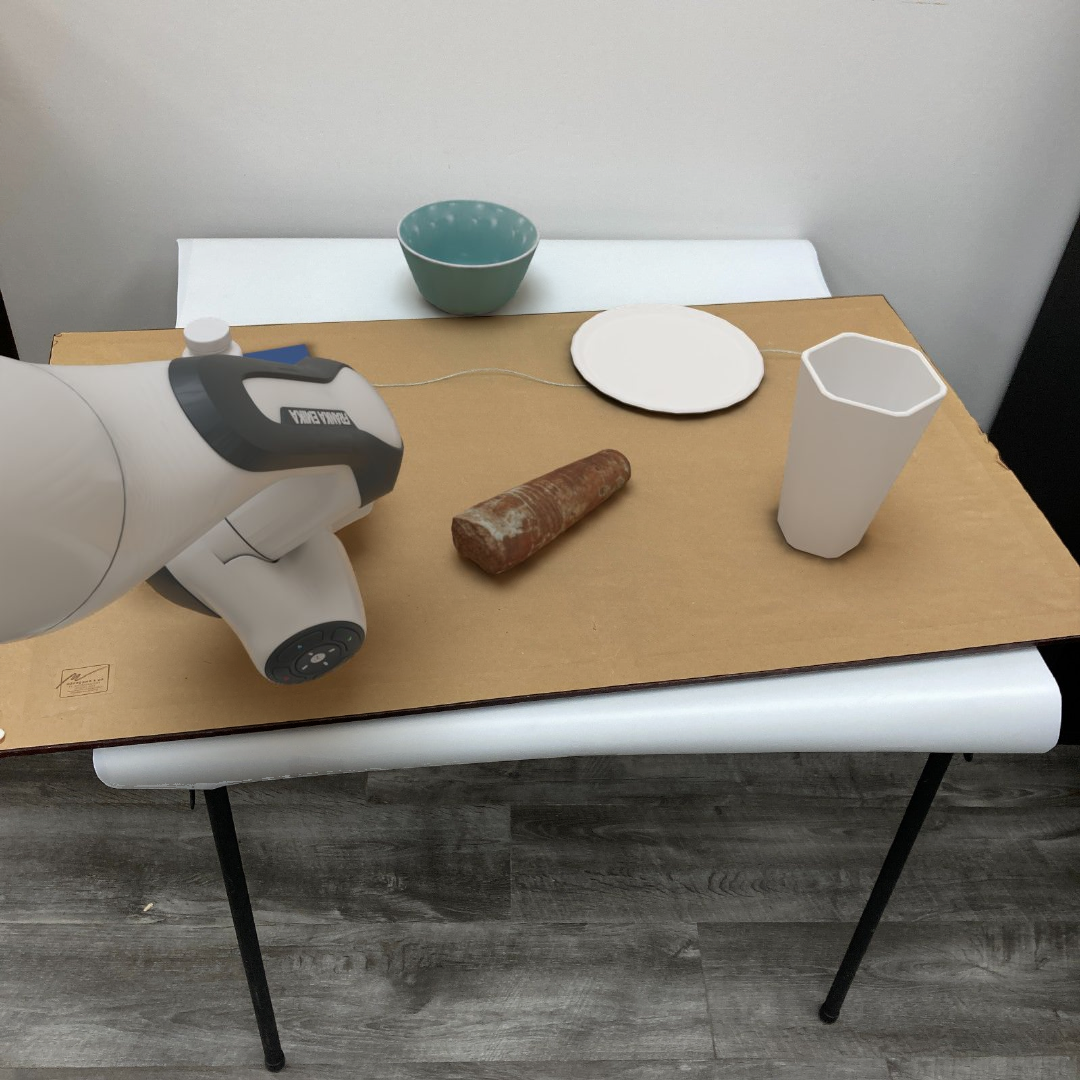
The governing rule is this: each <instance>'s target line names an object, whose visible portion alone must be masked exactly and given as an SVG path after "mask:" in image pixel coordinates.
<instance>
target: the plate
mask: <svg viewBox="0 0 1080 1080" xmlns="http://www.w3.org/2000/svg"><path fill="white" fill-rule="evenodd" d="M570 345H571V346H570V354H571V358H572V362H573V365H574V367H575V369H576V370H577V371H578V373H579V374H580V375H581V377H582V378H583V379H584V381H585V382H587V383H588V384H589V385H590V386H591V387H593V388H594V389H596V390H597V391H598V392H600V393H601V394H603V395H604V396H607V397H609V398H611V399H613V400H615V401H617V402H618V403H621V404H623V405H626V406H629V407H633V408H637V409H641V410H644V411H647V412H652V413H660V414H668V415H675V416H676V415H678V416H679V415H703V414H707V413H711V412H716V411H722V410H726V409H728V408H730V407H732V406H735V405H737V404H739V403H741V402H743V401H746V399H747V398H749V397H750V396H751V395H752V394H753V393H754V392H755V391H756V390H757V389H758V388H759V386H760V385H761V381H762V379H763V377H764V374H765V366H764V364H765V363H764V357H763V356H762V353H761V352H760V350H759V348H758V346H757V345H756V342H754V341H753V340H752V339H751V338H750V337H749V336H748V335H747V334H746V333H745V332H744V331H743V330H742V329H740V328H738V327H737V326H736V325H734V324H733V323H730V321H728V320H726V319H724V318H722V317H719V316H716V315H714V314H712V313H710V312H707V311H704V310H701V309H696V308H692V307H688V306H685V305H678V304H671V303H664V302H663V303H661V302H650V303H649V302H647V303H646V302H645V303H642V302H641V303H632V304H625V305H621V306H615V307H611V308H609V309H607V310H604V311H601V312H599V313H596V314H595V315H594V316H592V317H591V318H589V319H587V320H586V321H584V322H583V323H582V324H581V325H580V326H579V328H578V329H577V330H576V331H575V333H574V334H573V336H572V340H571V344H570Z"/></svg>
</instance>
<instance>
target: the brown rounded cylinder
mask: <svg viewBox="0 0 1080 1080" xmlns="http://www.w3.org/2000/svg"><path fill="white" fill-rule="evenodd" d="M631 478H632V466H631V463H630V461H629V459H628V458H627V456H626V455H624V453H622V452H621V451H619V450H617V449H613V448H606V449H602V450H599V451H597V452H595V453H593V454H591V455H588V456H586V457H582V458H580V459H578V460H575V461H572V462H571V463H569V464H566V465H564V466H561V467H558V468H556V469H554V470H552V471H550V472H547V473H545V474H543V475H540V476H538V477H535V478H533V479H531V480H529V481H526V482H523V483H522V484H520V485H518V486H515V487H513V488H510V489H508V490H506V491H504V492H502V493H500V494H497V495H495V496H493V497H490V498H488V499H486V500H483V501H481V502H478V503H477V504H475V505H473V506H471V507H469V508H468V509H466V510H465V511H463V512H461V513H458V514H456V515H454V516H453V517H452V521H451V526H450V529H451V530H450V531H451V536H452V537H451V538H452V543H453V546H454V548H455V549H456V551H457V553H458V554H459V555H460V556H463V557H465V558H468V559H470V560H471V561H473V562H474V563H476V564H477V565H478V566H479V567H480V569H482V570H484V571H485V572H486V573H489V574H492V575H498V574H501V573H504V572H507V571H509V570H511V569H512V568H514V567H515V566H517V565H519V564H520V563H522V562H523V561H525V560H526V559H527V558H528V557H531V556H532V555H533V554H535V553H536V552H538V551H539V550H541V549H542V548H544V547H545V546H547V545H548V544H549V543H551V542H552V541H553V540H554V539H556V538H557V537H558V536H560V535H561V534H562V533H564V532H566V530H568V528H570V527H572V526H573V525H574V524H575V523H577V522H578V521H579V520H580V519H582V518H583V517H585V515H587V514H588V513H589V512H591V511H592V510H594V509H595V508H597V507H598V506H599V505H601V504H602V503H603V502H605V501H606V500H607V499H608V498H609V497H611V496H612V495H613V494H614V493H615V492H617V491H618V490H619V489H620V488H622V487H623V486H624V485H625V484H627V483H628V482H629V481H630V480H631Z"/></svg>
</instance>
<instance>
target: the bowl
mask: <svg viewBox="0 0 1080 1080" xmlns="http://www.w3.org/2000/svg"><path fill="white" fill-rule="evenodd" d="M396 237H397V240H398V243H399V245H400V248H401V250H402V253H403V256H404V259H405V261H406V263H407V266H408V268H409V270H410V273H411V276H412V277H413V279H414V282H415V284H416V287H417V288H418V291H419V293H420V294H421V296H422V297H423V298H424V299H425V300H426V301H428V302H429V303H430V304H431V305H433V306H435V307H436V308H438V309H440V310H441V311H443V312H446V313H449V314H453V315H458V316H466V317H467V316H469V317H471V316H473V317H475V316H483V315H486V314H490V313H493V312H495V311H497V310H499V309H500V308H503V306H505V305H507V304H508V303H509V302H511V301H512V300H513V299H514V297H515V296H516V294H517V292H518V290H519V288H520V286H521V283H522V282H523V280H524V277H525V275H526V274H527V271H528V269H529V267H530V265H531V262H532V261H533V258H534V255H535V253H536V251H537V248H538V246H539V244H540V239H541V233H540V229H539V227H538V226H537V224H536V223H535V222H534V220H532V219H531V218H530V217H529V216H528V215H526V214H525V213H524V212H521V211H519V210H518V209H515V208H513V207H511V206H508V205H505V204H502V203H499V202H494V201H490V200H484V199H477V198H447V199H441V200H435V201H434V200H433V201H430V202H427V203H424V204H420V205H419V206H416V207H415V208H412V209H411V210H409V211H407V213H405V214H403V216H402V217H401V218H400V220H399V221H398V223H397V226H396Z"/></svg>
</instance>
